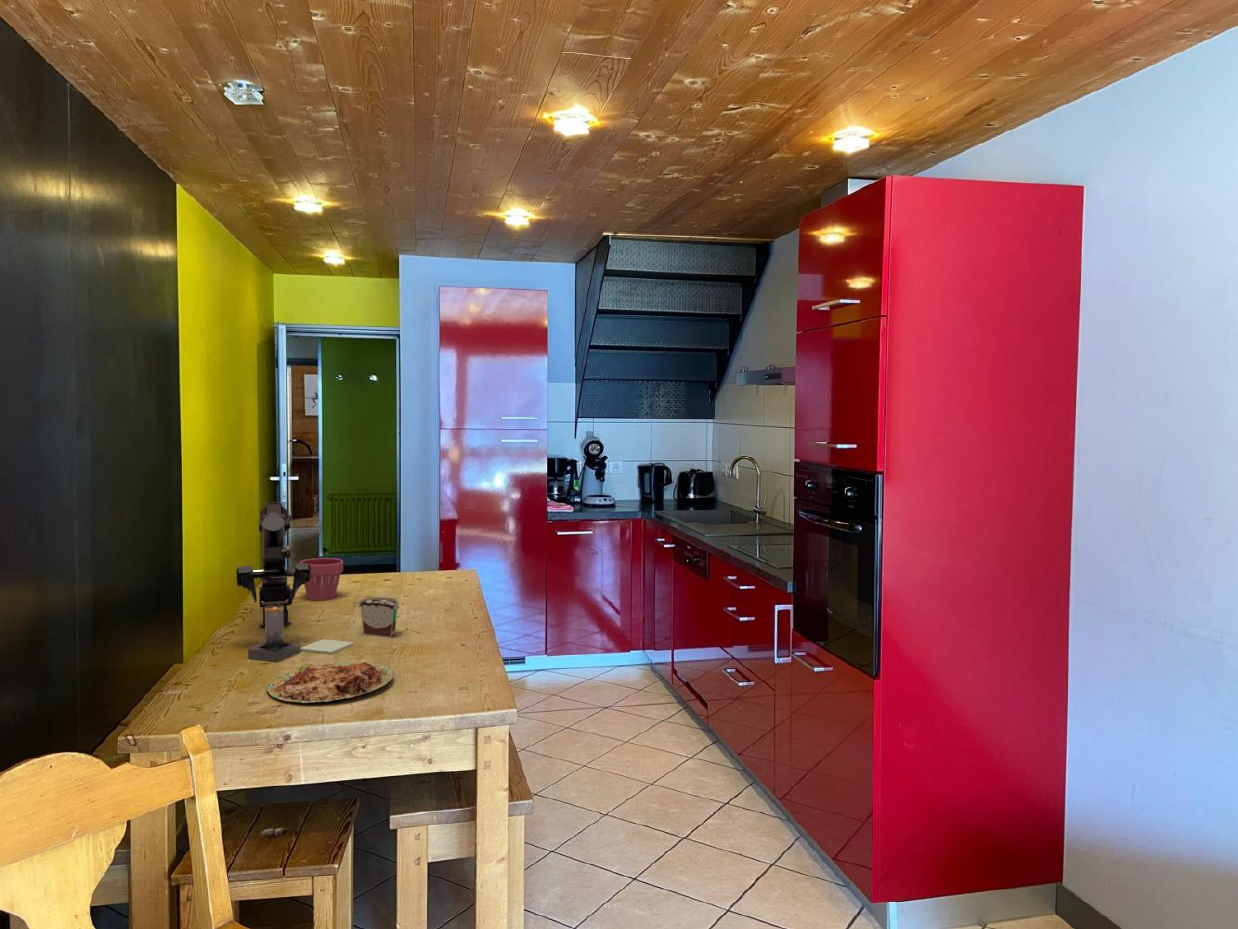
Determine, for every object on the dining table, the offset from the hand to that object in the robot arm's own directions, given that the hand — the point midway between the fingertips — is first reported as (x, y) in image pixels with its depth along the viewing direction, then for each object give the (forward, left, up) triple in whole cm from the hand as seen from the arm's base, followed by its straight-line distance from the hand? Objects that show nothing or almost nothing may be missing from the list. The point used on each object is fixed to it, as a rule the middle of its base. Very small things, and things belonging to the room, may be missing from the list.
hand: (274, 600), depth 229 cm
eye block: (+5, -6, -13) cm, 15 cm away
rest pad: (+13, +5, -13) cm, 19 cm away
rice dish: (+34, -22, -14) cm, 42 cm away
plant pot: (-27, +57, -13) cm, 65 cm away
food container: (+19, +23, -13) cm, 33 cm away
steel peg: (+5, -6, -13) cm, 15 cm away
